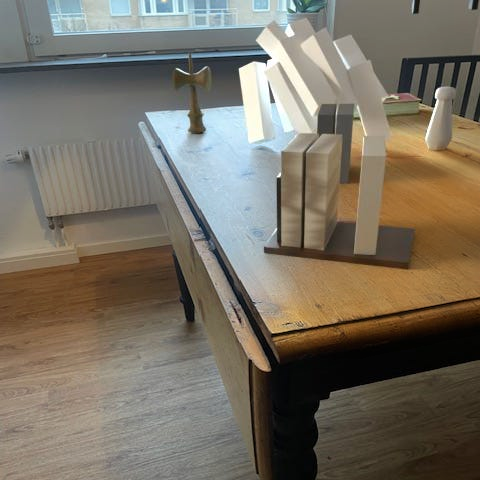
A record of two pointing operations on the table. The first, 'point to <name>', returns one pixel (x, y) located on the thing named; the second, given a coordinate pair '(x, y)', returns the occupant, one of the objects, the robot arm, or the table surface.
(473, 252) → the table surface
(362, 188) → the white book
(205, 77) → the kendama
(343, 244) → the book board
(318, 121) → the grey books
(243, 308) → the table surface
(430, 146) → the salt shaker
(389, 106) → the hardcover book
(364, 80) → the pile of blocks
